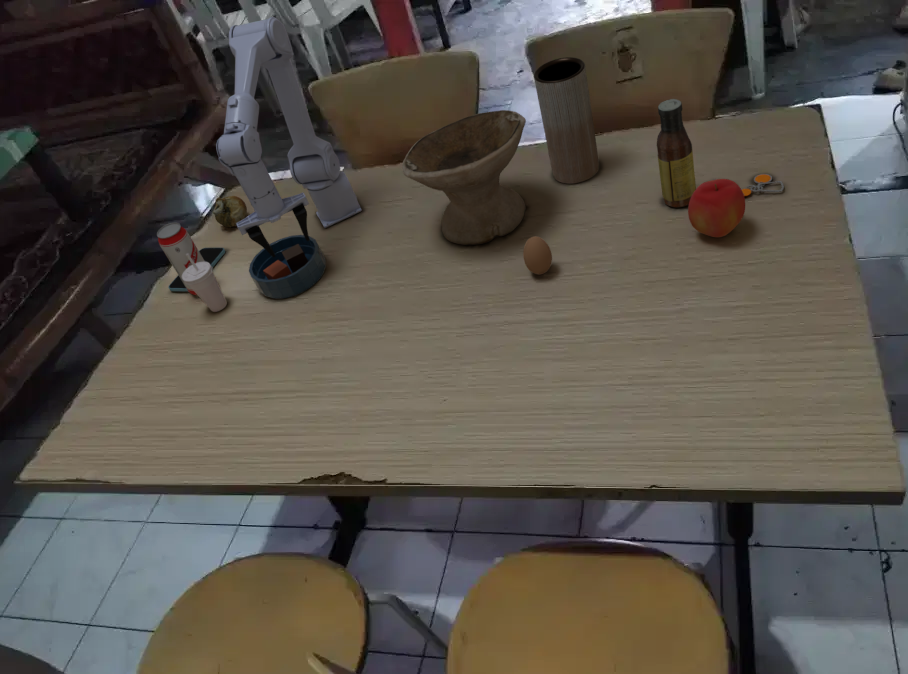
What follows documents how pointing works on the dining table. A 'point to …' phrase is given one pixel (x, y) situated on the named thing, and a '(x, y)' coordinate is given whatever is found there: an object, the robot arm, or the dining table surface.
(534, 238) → the egg
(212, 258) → the smartphone
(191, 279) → the smoothie
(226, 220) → the onion
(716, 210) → the apple
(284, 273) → the terracotta block
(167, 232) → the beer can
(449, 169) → the bowl
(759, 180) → the key chain
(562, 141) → the planter
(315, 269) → the teal bowl
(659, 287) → the dining table surface
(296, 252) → the walnut block
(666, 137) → the sauce bottle
